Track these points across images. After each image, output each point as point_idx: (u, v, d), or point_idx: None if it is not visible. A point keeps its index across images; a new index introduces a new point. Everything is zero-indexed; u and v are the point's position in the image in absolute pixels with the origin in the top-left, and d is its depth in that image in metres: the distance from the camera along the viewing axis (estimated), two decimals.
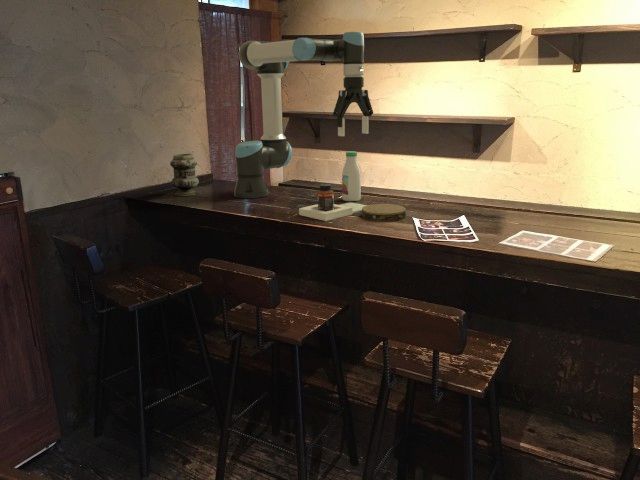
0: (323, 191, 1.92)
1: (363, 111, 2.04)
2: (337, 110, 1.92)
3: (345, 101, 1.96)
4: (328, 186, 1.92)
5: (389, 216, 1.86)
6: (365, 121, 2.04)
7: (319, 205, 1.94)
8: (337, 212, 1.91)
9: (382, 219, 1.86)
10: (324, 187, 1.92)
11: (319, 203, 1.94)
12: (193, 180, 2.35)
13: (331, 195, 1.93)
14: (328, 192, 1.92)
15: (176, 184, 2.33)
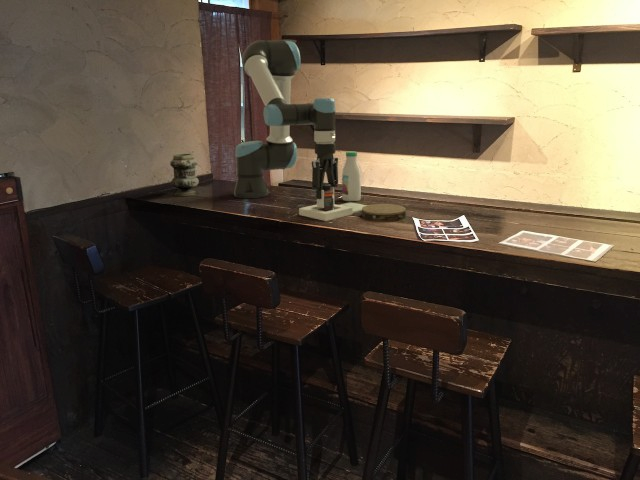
0: None
1: (329, 180, 1.96)
2: (316, 183, 1.88)
3: (319, 170, 1.90)
4: (328, 186, 1.92)
5: (389, 216, 1.86)
6: None
7: None
8: (337, 212, 1.91)
9: (382, 219, 1.86)
10: (324, 187, 1.92)
11: None
12: (193, 180, 2.35)
13: (331, 195, 1.93)
14: (328, 192, 1.92)
15: (176, 184, 2.33)
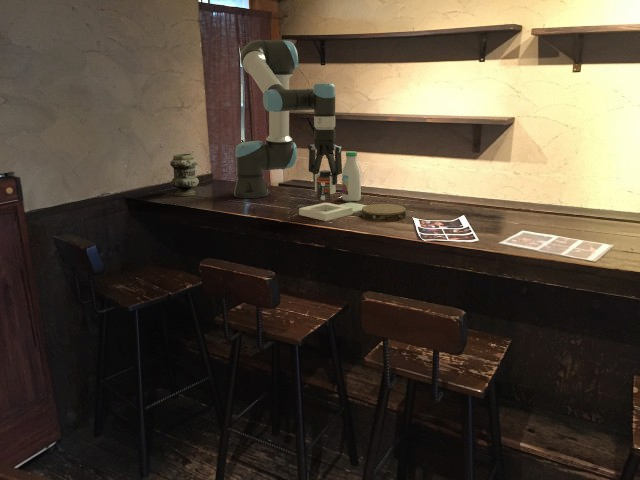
0: None
1: None
2: None
3: None
4: (321, 172, 1.92)
5: (389, 216, 1.86)
6: None
7: None
8: (337, 212, 1.91)
9: (382, 219, 1.86)
10: None
11: None
12: (193, 180, 2.35)
13: (320, 182, 1.92)
14: (318, 178, 1.92)
15: (176, 184, 2.33)
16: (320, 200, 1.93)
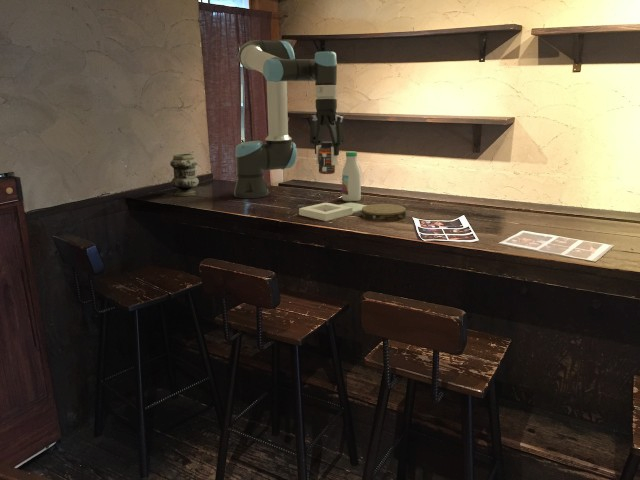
0: None
1: None
2: None
3: None
4: (322, 143, 1.89)
5: (389, 216, 1.86)
6: None
7: None
8: (337, 212, 1.91)
9: (382, 219, 1.86)
10: None
11: None
12: (193, 180, 2.35)
13: (321, 153, 1.89)
14: (320, 149, 1.90)
15: (176, 184, 2.33)
16: (321, 171, 1.91)
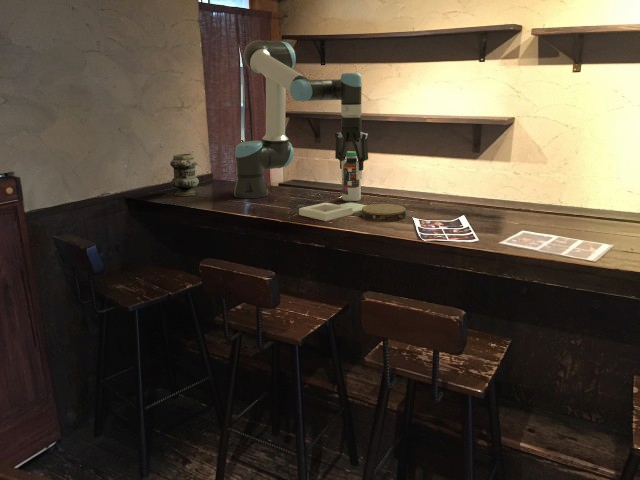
0: None
1: None
2: None
3: None
4: (347, 159, 2.00)
5: (389, 216, 1.86)
6: None
7: None
8: (337, 212, 1.91)
9: (382, 219, 1.86)
10: (346, 159, 2.01)
11: None
12: (193, 180, 2.35)
13: (346, 168, 2.00)
14: (345, 164, 2.00)
15: (176, 184, 2.33)
16: (347, 185, 2.01)
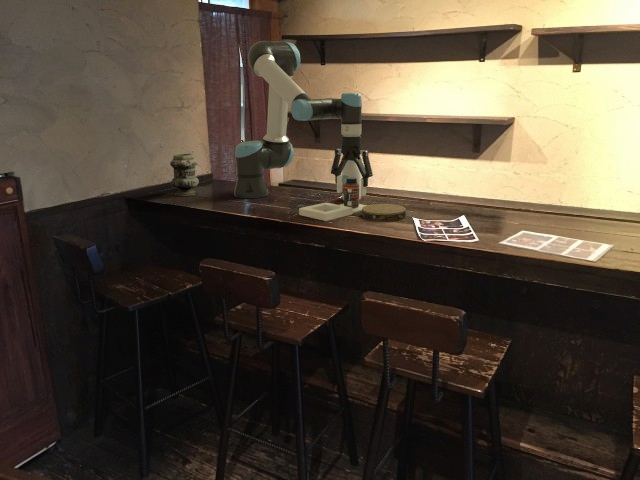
0: (345, 183, 2.04)
1: None
2: None
3: None
4: (347, 179, 2.02)
5: (389, 216, 1.86)
6: None
7: None
8: (337, 212, 1.91)
9: (382, 219, 1.86)
10: None
11: None
12: (193, 180, 2.35)
13: (346, 188, 2.02)
14: (345, 185, 2.03)
15: (176, 184, 2.33)
16: (347, 206, 2.04)
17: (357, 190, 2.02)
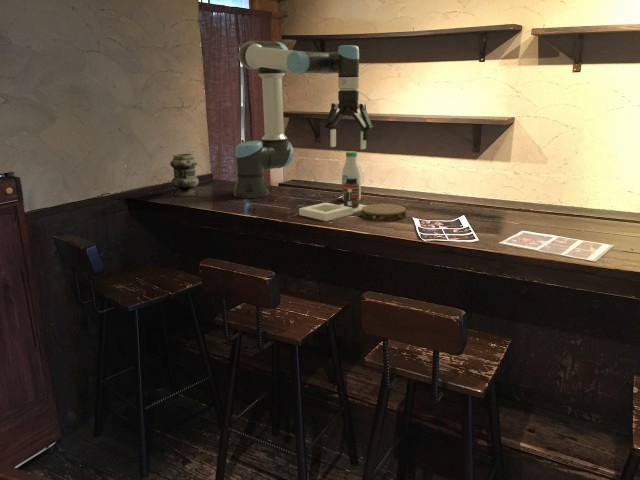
0: (345, 183, 2.04)
1: None
2: None
3: None
4: (347, 179, 2.02)
5: (389, 216, 1.86)
6: None
7: None
8: (337, 212, 1.91)
9: (382, 219, 1.86)
10: (346, 179, 2.03)
11: None
12: (193, 180, 2.35)
13: (346, 188, 2.02)
14: (345, 185, 2.03)
15: (176, 184, 2.33)
16: (347, 206, 2.04)
17: (357, 190, 2.02)
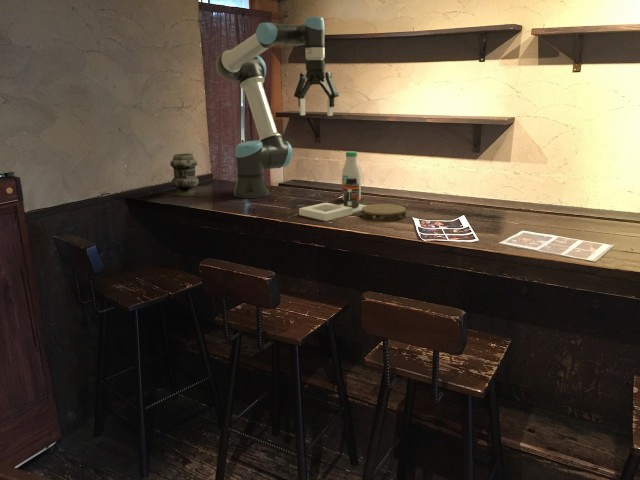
0: (345, 183, 2.04)
1: None
2: None
3: None
4: (347, 179, 2.02)
5: (389, 216, 1.86)
6: None
7: None
8: (337, 212, 1.91)
9: (382, 219, 1.86)
10: (346, 179, 2.03)
11: None
12: (193, 180, 2.35)
13: (346, 188, 2.02)
14: (345, 185, 2.03)
15: (176, 184, 2.33)
16: (347, 206, 2.04)
17: (357, 190, 2.02)
